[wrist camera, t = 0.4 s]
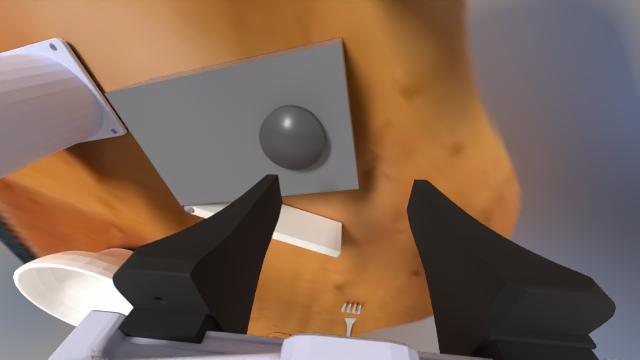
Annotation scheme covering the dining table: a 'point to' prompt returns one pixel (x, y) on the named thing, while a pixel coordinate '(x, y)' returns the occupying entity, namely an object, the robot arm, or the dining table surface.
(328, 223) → the door
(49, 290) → the bowl
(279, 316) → the dining table surface
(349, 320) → the fork
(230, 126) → the camera housing
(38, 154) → the robot arm
